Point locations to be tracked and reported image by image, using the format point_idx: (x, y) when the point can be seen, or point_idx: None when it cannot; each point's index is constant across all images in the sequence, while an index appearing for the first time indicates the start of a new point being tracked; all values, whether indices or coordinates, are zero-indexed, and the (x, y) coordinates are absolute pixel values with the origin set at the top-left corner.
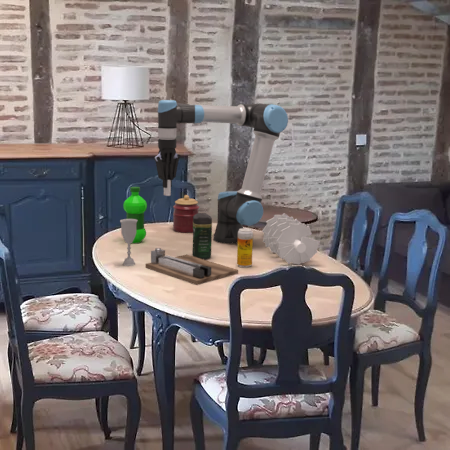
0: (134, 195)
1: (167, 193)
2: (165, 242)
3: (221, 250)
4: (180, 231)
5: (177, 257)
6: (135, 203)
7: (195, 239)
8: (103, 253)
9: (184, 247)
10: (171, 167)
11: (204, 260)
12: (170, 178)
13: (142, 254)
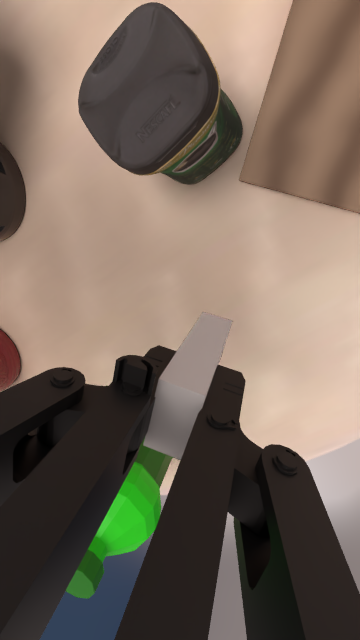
0: (104, 544)
1: (227, 335)
2: (121, 341)
3: (88, 132)
4: (16, 356)
5: (296, 183)
6: (136, 506)
7: (226, 126)
8: (327, 435)
9: (132, 263)
10: (15, 541)
11: (284, 53)
12: (150, 394)
13: (277, 333)
